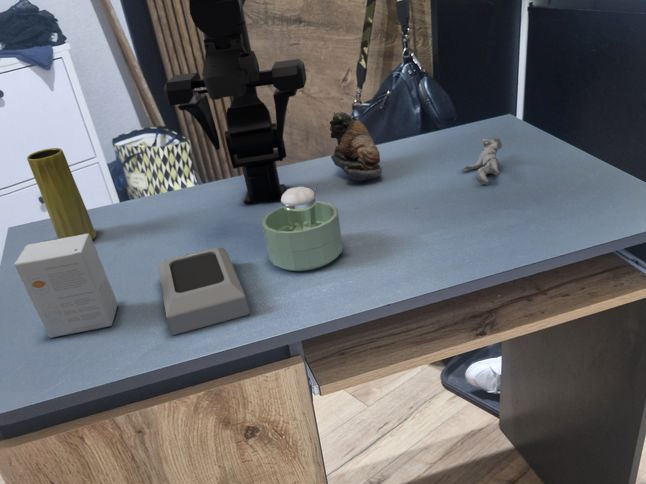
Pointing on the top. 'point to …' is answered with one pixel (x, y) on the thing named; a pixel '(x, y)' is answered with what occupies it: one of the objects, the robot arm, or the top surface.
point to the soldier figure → (487, 160)
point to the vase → (60, 193)
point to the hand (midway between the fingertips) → (249, 145)
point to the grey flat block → (201, 290)
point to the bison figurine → (354, 148)
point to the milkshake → (299, 208)
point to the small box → (67, 285)
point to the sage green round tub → (303, 239)
